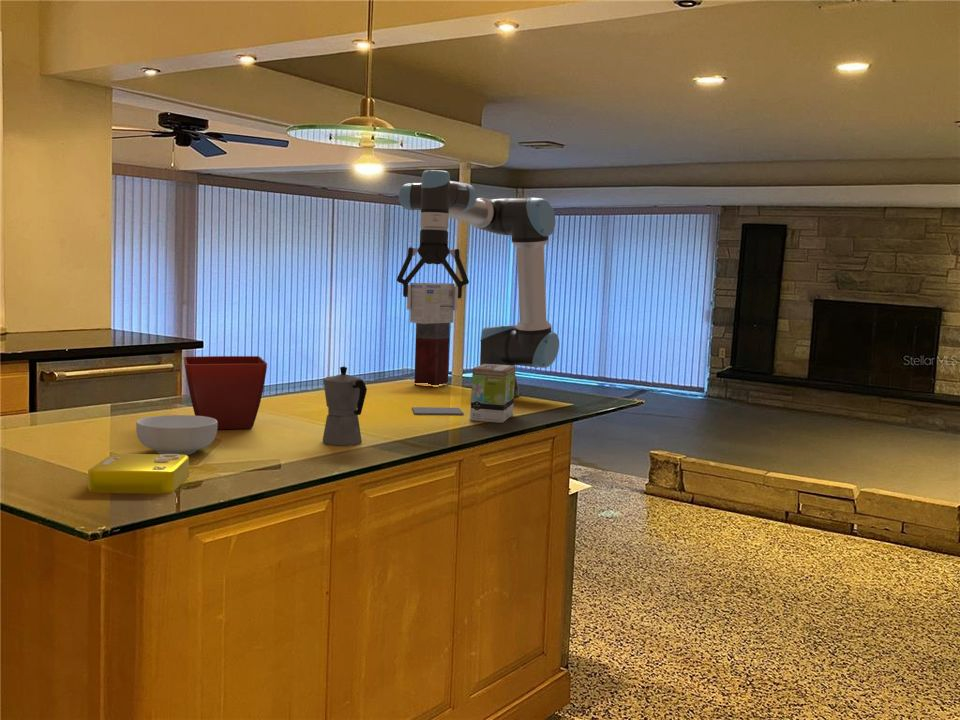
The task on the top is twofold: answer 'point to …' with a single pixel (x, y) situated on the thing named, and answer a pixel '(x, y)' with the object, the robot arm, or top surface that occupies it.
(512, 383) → the tea box
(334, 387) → the coffeepot
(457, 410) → the rubber mat
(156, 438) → the cereal bowl
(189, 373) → the plant pot
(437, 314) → the light bulb box
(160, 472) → the element tile
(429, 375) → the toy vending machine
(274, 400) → the top surface
